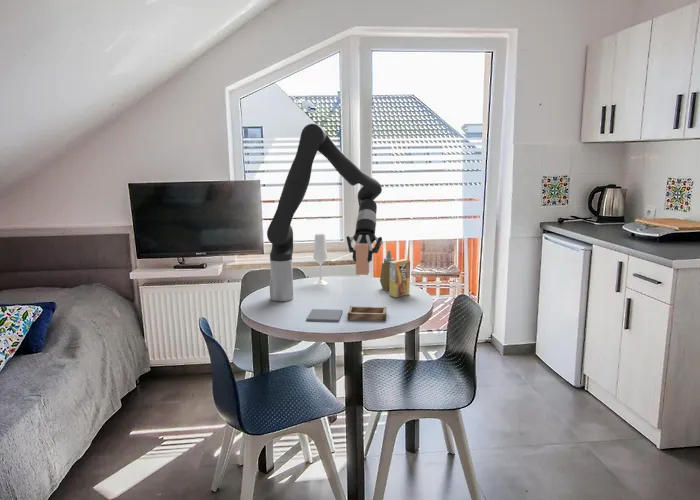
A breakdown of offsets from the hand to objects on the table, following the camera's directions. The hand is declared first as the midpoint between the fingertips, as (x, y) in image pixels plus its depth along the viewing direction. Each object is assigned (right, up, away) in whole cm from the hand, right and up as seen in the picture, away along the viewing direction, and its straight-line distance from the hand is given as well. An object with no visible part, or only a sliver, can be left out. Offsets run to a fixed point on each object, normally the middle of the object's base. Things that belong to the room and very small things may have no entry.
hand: (361, 260), depth 171 cm
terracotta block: (0, -5, +3) cm, 5 cm away
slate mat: (-14, -21, +7) cm, 26 cm away
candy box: (+17, -16, +35) cm, 42 cm away
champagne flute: (-19, -12, +57) cm, 61 cm away
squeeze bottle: (+13, -14, +45) cm, 49 cm away
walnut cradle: (+2, -21, +6) cm, 22 cm away
